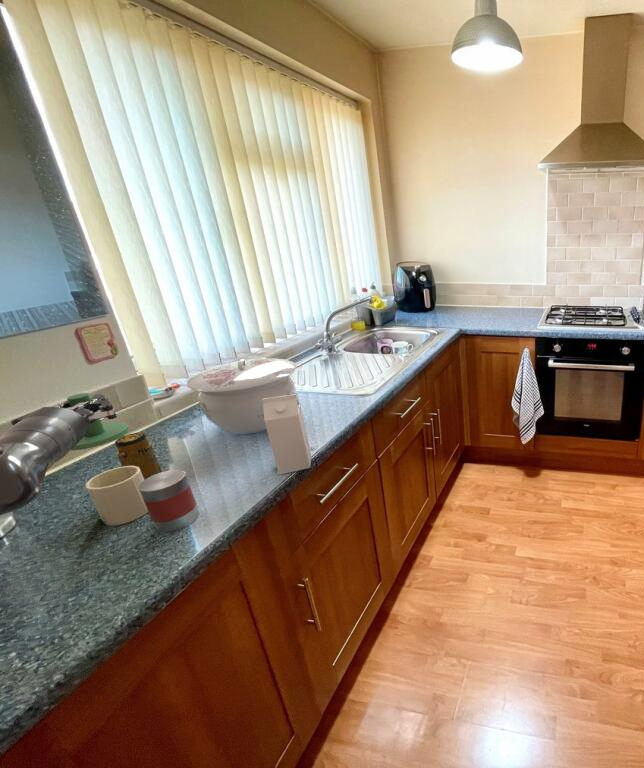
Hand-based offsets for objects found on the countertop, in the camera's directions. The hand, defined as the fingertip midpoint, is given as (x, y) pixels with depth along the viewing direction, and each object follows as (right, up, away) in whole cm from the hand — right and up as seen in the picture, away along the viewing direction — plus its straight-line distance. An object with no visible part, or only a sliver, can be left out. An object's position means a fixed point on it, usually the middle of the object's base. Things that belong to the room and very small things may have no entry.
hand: (88, 400), depth 79 cm
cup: (+1, -24, +7) cm, 25 cm away
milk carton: (+28, -18, +24) cm, 41 cm away
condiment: (-3, -20, +17) cm, 27 cm away
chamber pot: (+5, -9, +45) cm, 46 cm away
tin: (+14, -25, +5) cm, 29 cm away
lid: (+1, -7, 0) cm, 8 cm away
